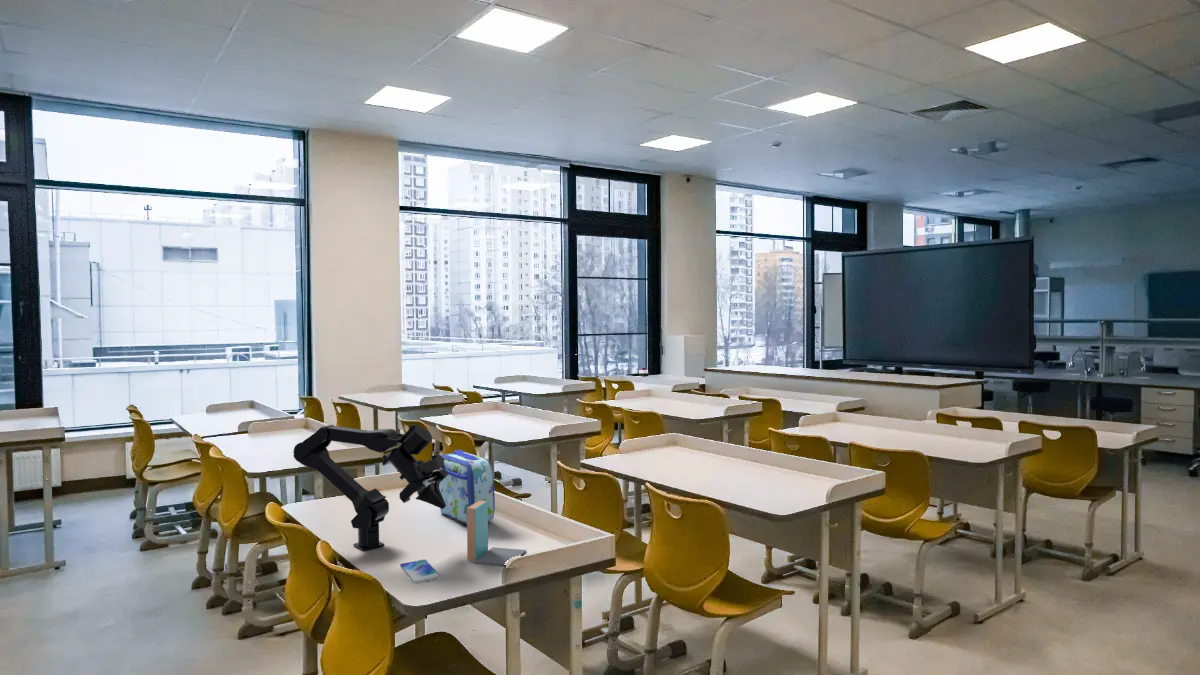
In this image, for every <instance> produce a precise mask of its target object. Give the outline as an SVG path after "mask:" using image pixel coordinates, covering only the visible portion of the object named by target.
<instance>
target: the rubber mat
mask: <svg viewBox="0 0 1200 675" xmlns="http://www.w3.org/2000/svg"><path fill="white" fill-rule="evenodd" d="M526 553H527V549H520V548H507V547H495V546H492V547H491V548H489V549H488V551H487V552H486V553H485V554H483V555H482V556H481V557H480V558H478V559H477V560H476V561H474V564H477V565H479V564H480V565H487V564H493V565H492V566H501V567H502V566H503V565H504V564H505V562H506V561H507V560H509V559H510V558H512V557H515V556H519V555H522V554H523V555H524V554H526ZM523 555H522V556H523ZM503 567H504V566H503Z"/></svg>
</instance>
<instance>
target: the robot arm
mask: <svg viewBox="0 0 1200 675" xmlns="http://www.w3.org/2000/svg"><path fill="white" fill-rule="evenodd" d="M432 440H433V436H432V434H431V432H430V431H429V430H428V429H425V428H424V427H422V426H420V425H418V424H417V423H415V424H414V423H413V424H411V425H410V426H409V428H408V429H407V431H406V432H405V433H400V432H399V433H398V432H397V431H396V430H395V429H393V428H381V429H371V430H367V429H359V428H351V427H343V426H338V425H337V426H336V425H334V424H328V425H324V426H321V427H320V428H319V429H318V430H317V431H316V432H314V433H313V434H311V435H310V436H309V437H307V438H306V439H304V440H303V441H302V442H298V443H297V444H296V445H295V446H294V448H293V457H294V460H295V461H297V463H300V464H301V465H303V466H304V467H307V468H309V469H312V470H315V471H317V472H318V473H320V475H322V476H323V477H324V478H325V479H326V480H327V481H328V482H329V483H330V484H331V485H333V487H335V488H336V489H337V490H338V491H340V493H341V494H343V495H344V496H345V497H346V498H347V499H348V500H349V501H350V502H351V503H352V506H353V508H354V512H355V513H356V514H355V516H354V517H353V518H352V519H351V520H350V523H351V526H352V529H357V536H358V537H357V538H358V539H357V542H355V543H353V544H352V545H353V546H354V547H355V548H357V549H359V550H361V551H368V550H372V549H374V548H375V549H376V548H381V547H383V546H385V543H384V542H382V541H380V523H381V522H384V520H385V517H386V516H387V515H388V513H389V509H390V506H389V505H390V502H389V501H388V500H387V499H386V498H387V496H386V495H383V494H382V493H381V492H380V491H379V489H377V488H372V489H371V490H368V489H366V488H364V487H363V486H362V484H360V483H359V482H358V481H357V480H355V479H354V478H353V477H352V476H351V475H350V474H349V473H348V472H346V471H345V470H344V469H343V468H342V467H341V466H340V465H339V464H337V463H336V461H334V460H333V459H332V458H331V456H330V452H329V450H328V447H329V446H330V445H331V443H332V442H336V443H337V442H338V443H344V444H353V445H360V446H364V447H365V448H367V449H368V450H370V451H373V452H377V453H379V454H380V453H384V452H388V451H390V450H391V451H390V452H389V453H386V454H384V455H382V466H386V465H389V464H391V465H392V466H393V467H394V468H395V469H396V471H397V472H399V474H400V475H399V478H400V480H401V481H402V480H405V481H406V482H407V483H408V484H407V485H406V486H405V487H404V488H403V489H402V490H400V492H399V499H400V500H401V502H402V503H403V504H405V503H408V502H409V501H410V500H411V497H412V496H413V495H414V494H415V493H416V494H417V496H416V498H415V500H419V501H421V502H424V503H427V504H430V505H432V506H434V507H436V508H439V509H440V508H441V509H444V508H445V507H446V504H445V502H444V499H443V497H442V495H441V492H440V489H439V484H440V483H441V481H442V480H443V479H444V478H445V477H446V476H447V475H448V474H449V473H448V472H447V471H446V470H445V469H439V468H440V467H444V466H445V465H444V460H445V458H443V457H442V455H443V454H440V453H435V454H434V455H431V458H430V460H427V461H423V459H422V460H421V459H420V460H417V458H416V457H415V456H414V455H416V456H417V455H420V453H421V452H423V450H424V449H425V448H426V447H427V446H428V445H429V444H430V443H431V442H432ZM398 445H399V446H398ZM437 469H438V470H437Z"/></svg>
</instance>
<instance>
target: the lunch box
mask: <svg viewBox="0 0 1200 675" xmlns="http://www.w3.org/2000/svg"><path fill="white" fill-rule="evenodd" d="M441 455H442V457H443V458H445V460H444V465H445V466H444V467H440V468H439V469H445V470H446V471H447V472H448V473H449V474H448V475H447V476H446V477H445V478H444V479H443V480H442V481H441V483H440V484H439V489H440V492H441V495H442V497H443V499H444V502H445V504H446V507H445V508H444V509H441V508H439V510H440V513H441V515H443V514H444V516H447V517H449V518H451V519H455V520H456V521H459V522H461V523H463V524H465V525H467V508H468V507H470V506H471V505H473V504H474V503H476V502H478V501H488V522H491V521H492V520H493V519H494V517H495V508H496V505H495V501H496V500H495V481H494V474H493V470H492V467H491V464H490V462H489V461H488V460H487V459H485V458H483V457H481V456H479V455H475V454H473V453H470V452H465V451H463V449H458V450H453V453H447V454H441ZM437 470H438V469H437Z"/></svg>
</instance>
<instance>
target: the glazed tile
mask: <svg viewBox="0 0 1200 675" xmlns="http://www.w3.org/2000/svg"><path fill="white" fill-rule="evenodd" d="M466 537H467V538H466V542H467V545H466V550H467V552H466V553H467V554H466V556H467V561H474V562H475V561H476V560H477V559H478V558H480V557H481V556H482V555H483V554H485V553H486V552H487V551H488V550H489V521H488V501H478V502H476V503H474V504H473V505H471V506H470V507H468V508H467V524H466Z"/></svg>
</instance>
